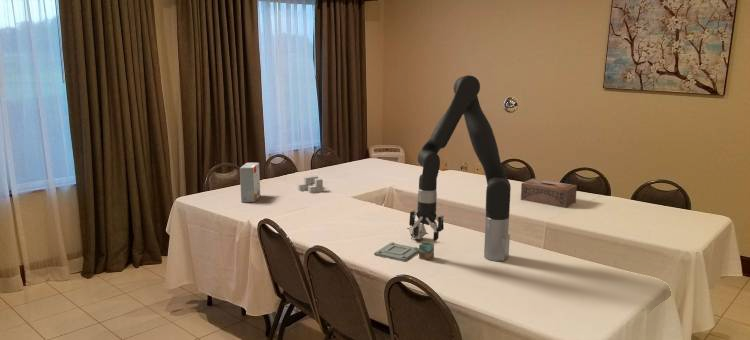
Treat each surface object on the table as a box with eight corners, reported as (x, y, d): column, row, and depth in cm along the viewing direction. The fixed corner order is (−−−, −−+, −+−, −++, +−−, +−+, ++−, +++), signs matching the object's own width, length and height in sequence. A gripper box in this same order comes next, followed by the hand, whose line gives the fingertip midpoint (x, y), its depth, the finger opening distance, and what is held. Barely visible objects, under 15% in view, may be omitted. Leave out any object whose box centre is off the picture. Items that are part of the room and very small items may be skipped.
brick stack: (433, 257, 220) (434, 243, 218) (429, 260, 216) (429, 246, 214) (423, 255, 222) (424, 241, 221) (419, 258, 218) (419, 244, 217)
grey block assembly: (297, 189, 328) (297, 177, 327) (316, 187, 333) (316, 175, 332) (303, 194, 318) (303, 181, 316) (323, 192, 323) (322, 179, 321)
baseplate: (419, 250, 227) (419, 247, 226) (404, 261, 215) (404, 257, 215) (390, 244, 234) (390, 241, 234) (374, 255, 222) (374, 251, 222)
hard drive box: (254, 202, 300) (252, 167, 296) (241, 202, 301) (238, 167, 296) (260, 195, 316) (259, 162, 311) (248, 195, 316) (246, 162, 311)
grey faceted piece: (416, 248, 239) (407, 235, 233) (410, 236, 246) (401, 222, 240) (433, 239, 239) (425, 225, 233) (427, 227, 246) (419, 213, 240)
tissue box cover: (575, 202, 298) (576, 185, 296) (565, 208, 287) (566, 190, 285) (531, 195, 314) (532, 178, 312) (520, 200, 304) (521, 183, 301)
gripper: (447, 200, 213) (445, 239, 217) (415, 194, 221) (414, 232, 224) (439, 204, 207) (437, 244, 211) (406, 199, 214) (405, 237, 218)
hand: (425, 238), depth 218 cm, fingers open, 8 cm apart
